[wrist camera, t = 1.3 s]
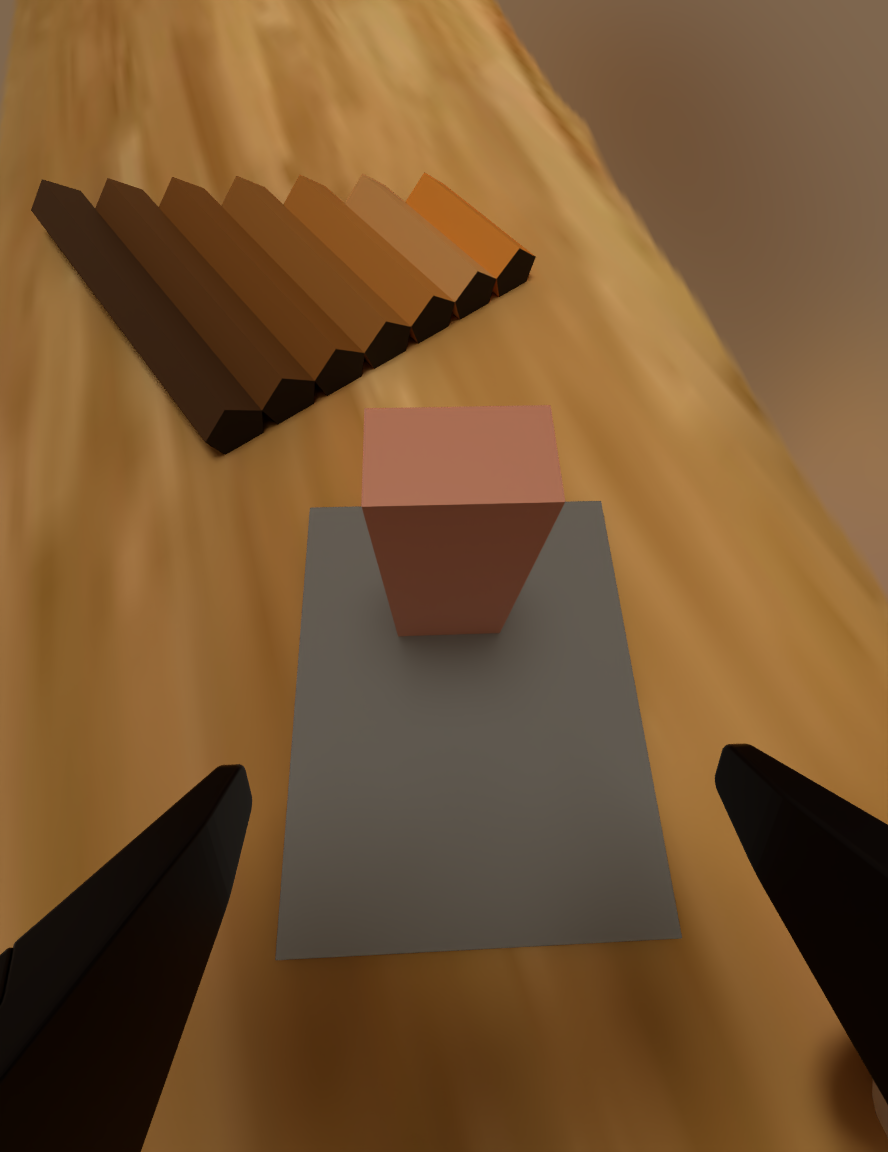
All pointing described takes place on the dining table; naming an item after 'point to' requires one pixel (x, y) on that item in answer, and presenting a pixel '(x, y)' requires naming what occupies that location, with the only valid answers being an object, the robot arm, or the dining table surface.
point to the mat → (468, 765)
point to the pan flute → (277, 284)
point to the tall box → (458, 510)
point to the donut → (880, 1107)
